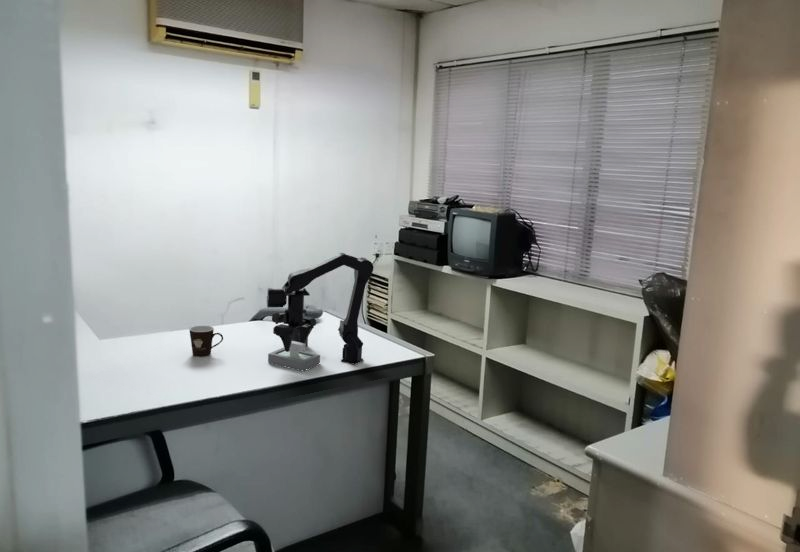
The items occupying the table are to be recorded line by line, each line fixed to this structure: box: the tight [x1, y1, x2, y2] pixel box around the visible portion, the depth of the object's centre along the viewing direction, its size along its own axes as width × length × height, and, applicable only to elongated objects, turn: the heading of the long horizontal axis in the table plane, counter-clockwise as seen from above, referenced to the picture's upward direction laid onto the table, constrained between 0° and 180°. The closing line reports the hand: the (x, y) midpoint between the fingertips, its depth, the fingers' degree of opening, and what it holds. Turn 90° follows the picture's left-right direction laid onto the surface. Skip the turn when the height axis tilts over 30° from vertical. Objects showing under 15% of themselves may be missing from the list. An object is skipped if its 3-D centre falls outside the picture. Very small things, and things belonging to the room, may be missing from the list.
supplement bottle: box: [292, 328, 309, 348], centre depth 241 cm, size 7×7×12 cm
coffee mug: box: [188, 325, 224, 358], centre depth 225 cm, size 12×9×10 cm
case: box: [267, 347, 321, 372], centre depth 222 cm, size 16×10×4 cm, turn 64°
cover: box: [279, 341, 312, 360], centre depth 222 cm, size 12×6×6 cm, turn 64°
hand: (294, 348), depth 221 cm, fingers open, 9 cm apart
